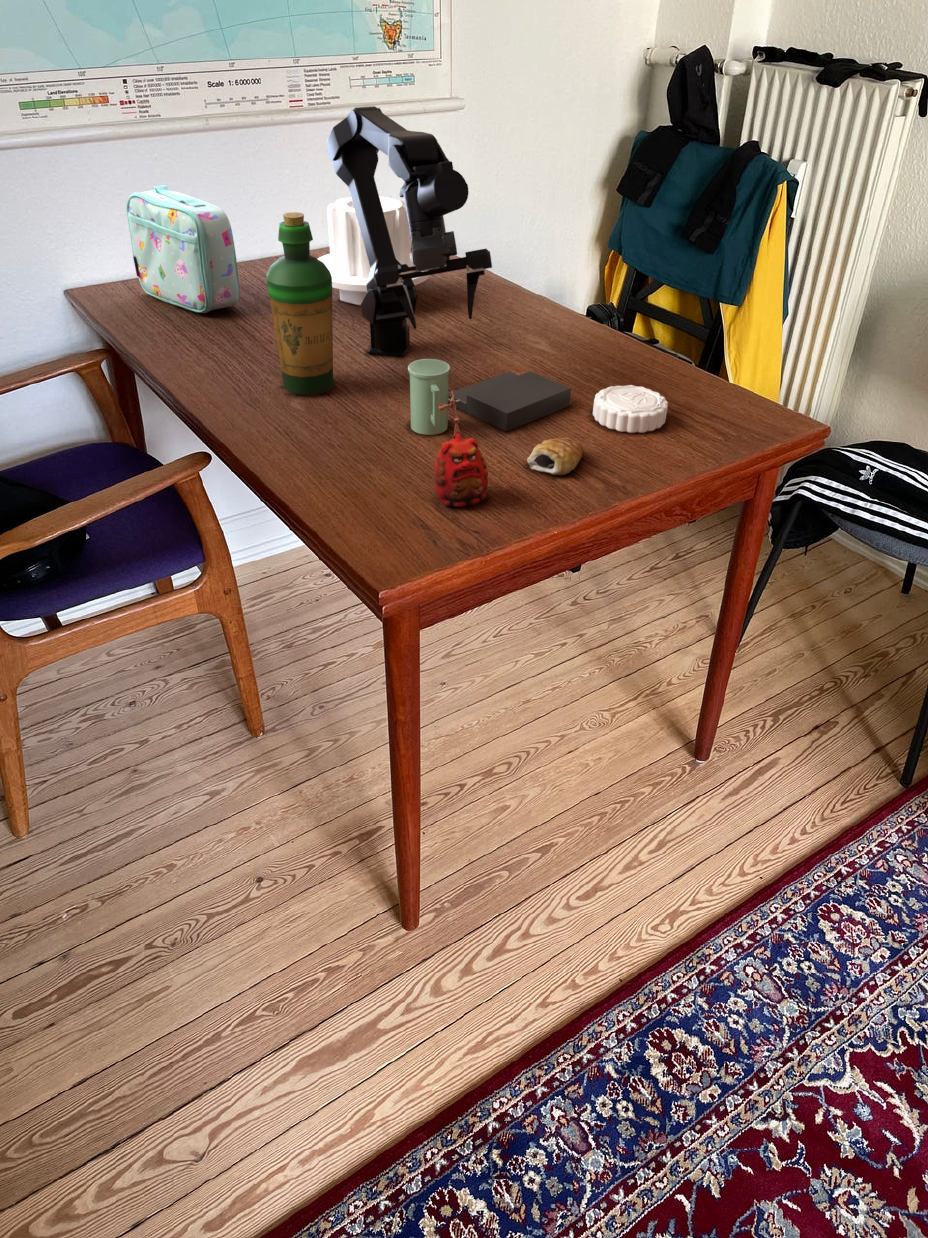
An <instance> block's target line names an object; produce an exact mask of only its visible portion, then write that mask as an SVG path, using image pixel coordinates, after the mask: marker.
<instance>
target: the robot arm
mask: <svg viewBox="0 0 928 1238" xmlns="http://www.w3.org/2000/svg"><path fill="white" fill-rule="evenodd" d="M325 148H326V153H327V157H328V159H329V161H330V162H331V164H332V168H333V170H334V173H335V175H336V176H337V177H338V179H340V180H341V181H342V182H343V183H344V185H346V186H347V188H348V190H349V193H350V197H352V201H353V205H354V209H355V212H356V216H357V220H358V223H359V227H360V231H361V234H362V238H363V242H364V245H365V249H366V253H367V257H368V260H369V264H370V272H369V276H368V279H367V283H366V287H367V294H366V296H365V297H364V299H363V301H362V303H361V306H360V310H361V315H362V318H364V320H366V321H368V322H369V332H370V333H369V335H370V347H369V349H368V351H367V352H368V354H370V355H379V356H390V357H398V358H399V357H400V358H401V357H403V355H404V354H405V352H406V351H407V350H408V348H409V347H410V346H411V342H410V341H411V338H410V337H411V336H410V333H411V331H410V324H411V325H412V327H413V330H417V329H418V328H417V327H418V326H417V320H416V316H415V313H416V307H417V301H418V291H417V289H416V287H415V286H416V285H414V283H413V281H412V278H416V277H422V276H428V275H430V276H433V275H439V274H444V273H451V272H454V271H460V270H466V271H468V272H466V275H465V276H466V293H467V294H466V295H467V296H466V298H467V299H466V300H467V314H468V320H472V319H473V311H474V303H475V295H476V290H477V286H478V283H479V279H480V277H481V276H485V275H486V272H485V271H486V270H487V269H492V268H493V262H492V256H491V251H490V250H488V248H481V249H475V250H470V251H465V253H464V254H465V256H463V257H457V258H452V259H451V257H453V256H454V257H455V256H457V255H458V249H457V248H458V247H457V241H456V236H455V231H454V230H452V231H447V230H446V224H445V223H446V222H445V218H444V216H445V215H448V214H450V213H452V212H453V213H454V212H455V211H457V210H459V209H462V208H463V207H464V206H465V204H466V203H467V201H468V199H469V185H468V183H467V181H466V179H465V178H464V176H463V175H462V174H461V173H460V172H459V171H457V170H456V169H454V165H453V161H450V160H449V159H448V158H447V156H446V154H445V152H444V150H443V149H442V146H441V144H440V143H439V142H438V139H437V138H436V137H435V135H434V134H432V133H429V132H424V131H416V130H408V129H406V127H403V126H402V125H400V124H399V123H398V122H396V121H395V120H393V119H392V118H390V117H389V116H388V115H386V114H384V113H383V111H382V109H381V108H380V107H377V106H374V105H372V106H359V107H357V106H356V107H354V108H353V109H350V110H349V111H348V114H347V115H346V117H345V118H343V119H342V120H341V121H339V122H338V123H337V124H335V125H334V126H333V127H332V129H331V130H330V133H329V135H328V137H327V139H326V144H325ZM380 151H381V152H382V153H383V154H384V155H386V156H387V160H388V161H387V166H388V167H389V168H390V170H391V171H392V172H393V174H395V175H396V177H397V178H399V179H401V180H403V181H404V182H403V185H402V186H401V188H400V190H399V192H398V193H399V194H398V195H399V198H403V200H404V201H403V202H404V203H405V207H406V213H407V219H408V225H409V231H410V244H411V245H410V253H411V254H412V258H413V264H414V265H415V266H412V267H408V265H407V264H401V263H400V262H399V261H398V260H397V259H396V257H395V254H394V250H393V246H392V243H391V239H390V235H389V231H388V228H387V224H386V220H385V217H384V213H383V209H382V205H381V202H380V198H379V196H380V194H379V190H378V187H377V183H376V180H375V179H376V178H375V175H376V171H377V167H378V163H379V154H378V153H379V152H380ZM427 270H428V271H427ZM421 271H424V272H421ZM407 319H409V321H410V324H409V323H407Z"/></svg>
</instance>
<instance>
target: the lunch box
mask: <svg viewBox="0 0 928 1238" xmlns="http://www.w3.org/2000/svg"><path fill="white" fill-rule="evenodd" d="M126 217H127V218H126V219H127V224H128V229H129V234H130V235H129V236H130V242H131V248H132V249H131V251H132V258H133V264H134V269H135V274H136V277H138V281H139V284H140V286H141V288H142V289H143V291H144V292H145V293H146V294H147V295H149V296H151V297H153V298H155V299H158V300H159V301H162V302H164V303H166V304H170V305H172V306H176V307H179V308H182V309H185V310H188V311H191V312H194V313H198V314H207V313H210V312H211V311H215V310H219V309H224V308H231V307H234V306H235V307H236V306H237V305H238V304H239V301H240V293H241V292H240V291H241V290H240V279H239V268H238V261H237V254H236V247H235V241H234V235H233V230H232V225H231V222H230V219H229V217H228V214H226V213H225V211H224V210H223V209H222V208H220V207H219V206H217V205H216V204H215V205H214V204H212V203H210V202H207V201H205V200H202V199H199V198H196V197H193V196H190V195H188V194H185V193H182V192H178V191H175V190H170V189H168V186H167V185H165V184H164V185H154V186H153V189H149V190H148V191H141V192H133V193H131V194H130V195H129V197H128V199H127V202H126Z"/></svg>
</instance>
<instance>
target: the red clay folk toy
mask: <svg viewBox="0 0 928 1238" xmlns="http://www.w3.org/2000/svg"><path fill="white" fill-rule="evenodd" d="M453 391H454V390H449V393H451V394H452V398H451V400H450V399H448V400H449V401H450V402H451V404H445V405H444V404H443V403H440V405H439V410H440V411H442V410H444V409H445V408H448V409H449V408H452V411H453V424H454V430H453V437H452V438H451V439H450V440H449V441H443V443H442V445H441V446H440V447H441V448H440V449H439V451H438V453H437V456H436V458H435V462H434V491H435V492H434V493H435V494H436V496H437V498H438V500H439V501H440V503H441V504H442V505H443V506H445V507H456V508H462V507H466V505H467V506H468V505H472V506H473V505H478V504H480V503H482V502H483V501H485V500H486V494H487V489H488V486H489V478H488V476H489V469H488V466H487V461H486V459H485V457H484V456H483V454H482V452H481V450H480V448H479V443H478V441H477V440H476V439H475V438H474V437H468V438H462V437H461V432H460V429H459V425H458V424H459V421H460V418H459V417H458V416H457V415H458V414H457V407H456V402H459V401H461V399H460V400H457V401H455V400H454V394H453Z"/></svg>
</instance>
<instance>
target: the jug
mask: <svg viewBox="0 0 928 1238" xmlns="http://www.w3.org/2000/svg"><path fill="white" fill-rule="evenodd" d="M450 372H451V365H450V364H449V363H448V362H446V361H444V360H441V359H436V358H421V359H418V360H417V359H416V360H414V361H412V362H410V363H409V364H408V365H407V373H408V374H409V412H410V413H409V415H410V418H409V419H410V429H411V430H412V431H413V432H414V433H417V434H419V435H425V436H434V435H441V434H443V433H444V432H446V431H447V430H448V428H449V407H448V408H445V409H444V410H442V411H440V410H439V405H440V403H443V404H444V405H445V404H448V393H449V374H450Z"/></svg>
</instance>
